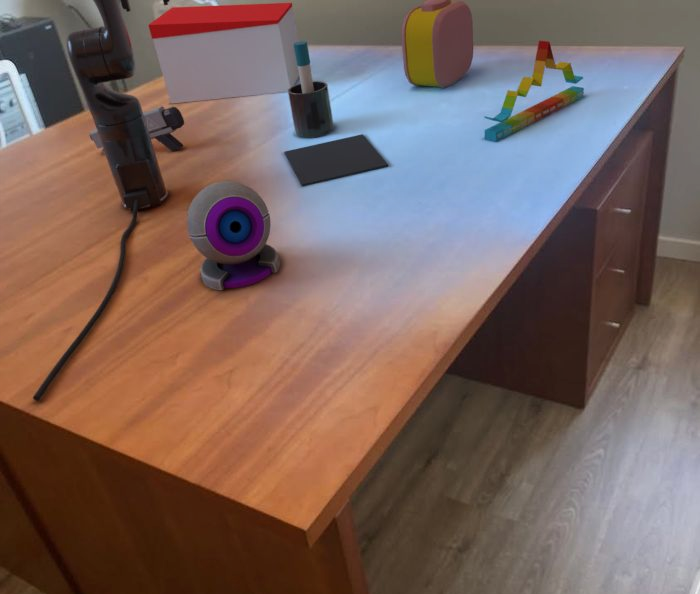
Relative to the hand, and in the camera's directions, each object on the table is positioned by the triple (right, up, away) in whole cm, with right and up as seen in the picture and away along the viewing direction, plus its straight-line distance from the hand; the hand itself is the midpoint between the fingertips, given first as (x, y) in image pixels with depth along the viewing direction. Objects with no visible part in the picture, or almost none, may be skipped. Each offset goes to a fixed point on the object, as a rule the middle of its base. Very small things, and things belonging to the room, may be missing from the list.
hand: (147, 7), depth 164 cm
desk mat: (+42, -37, -11) cm, 57 cm away
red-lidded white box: (+13, -2, +45) cm, 47 cm away
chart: (+86, -27, -7) cm, 91 cm away
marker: (+37, -26, +5) cm, 46 cm away
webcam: (+28, -64, -44) cm, 83 cm away
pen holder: (+38, -26, +5) cm, 46 cm away
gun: (-4, -30, +10) cm, 32 cm away
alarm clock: (+69, -8, +23) cm, 73 cm away
